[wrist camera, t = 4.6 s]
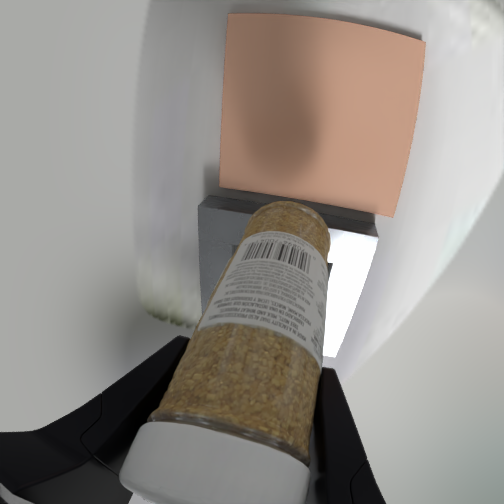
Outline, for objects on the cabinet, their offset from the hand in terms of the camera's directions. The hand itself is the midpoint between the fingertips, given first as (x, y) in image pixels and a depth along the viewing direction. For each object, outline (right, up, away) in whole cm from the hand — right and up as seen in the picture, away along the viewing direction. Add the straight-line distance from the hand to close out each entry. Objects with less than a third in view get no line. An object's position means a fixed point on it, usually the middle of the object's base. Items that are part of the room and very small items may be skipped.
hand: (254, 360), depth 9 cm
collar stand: (+2, +1, +15) cm, 15 cm away
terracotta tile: (+4, +12, +7) cm, 15 cm away
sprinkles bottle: (+2, +4, +7) cm, 8 cm away
